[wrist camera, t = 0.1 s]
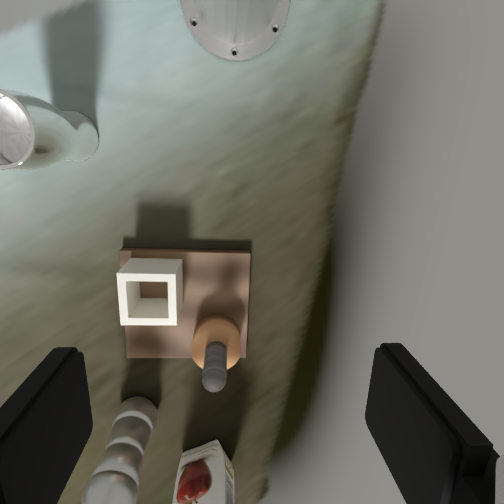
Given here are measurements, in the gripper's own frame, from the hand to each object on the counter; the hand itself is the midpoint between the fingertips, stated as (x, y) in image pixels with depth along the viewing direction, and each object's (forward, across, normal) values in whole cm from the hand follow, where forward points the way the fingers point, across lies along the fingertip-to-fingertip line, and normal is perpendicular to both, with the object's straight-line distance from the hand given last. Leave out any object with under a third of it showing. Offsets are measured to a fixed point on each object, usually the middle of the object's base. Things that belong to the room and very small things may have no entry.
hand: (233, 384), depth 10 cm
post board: (+37, +6, +15) cm, 40 cm away
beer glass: (+37, +20, -8) cm, 43 cm away
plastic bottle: (+37, +14, +34) cm, 52 cm away
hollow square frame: (+35, +10, +11) cm, 38 cm away
